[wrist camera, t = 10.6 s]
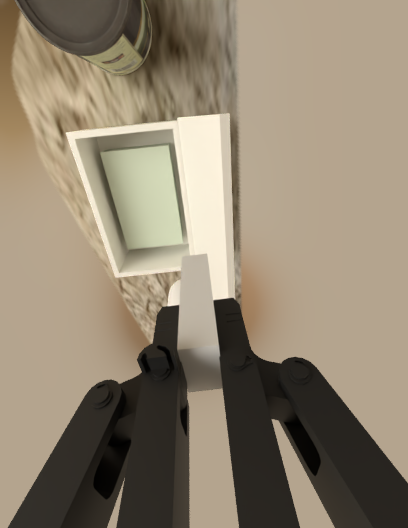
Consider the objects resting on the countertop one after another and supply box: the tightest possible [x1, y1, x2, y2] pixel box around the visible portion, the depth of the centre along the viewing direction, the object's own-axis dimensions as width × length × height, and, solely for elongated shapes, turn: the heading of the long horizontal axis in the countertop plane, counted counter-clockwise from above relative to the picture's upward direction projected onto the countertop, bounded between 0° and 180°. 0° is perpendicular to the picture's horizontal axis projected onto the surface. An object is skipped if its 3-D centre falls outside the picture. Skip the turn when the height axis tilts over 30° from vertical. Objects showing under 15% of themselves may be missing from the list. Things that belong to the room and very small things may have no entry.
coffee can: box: [15, 0, 152, 75], centre depth 26 cm, size 10×10×14 cm
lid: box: [178, 113, 235, 300], centre depth 30 cm, size 14×23×1 cm
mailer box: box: [66, 120, 195, 277], centre depth 40 cm, size 14×22×9 cm, turn 5°
